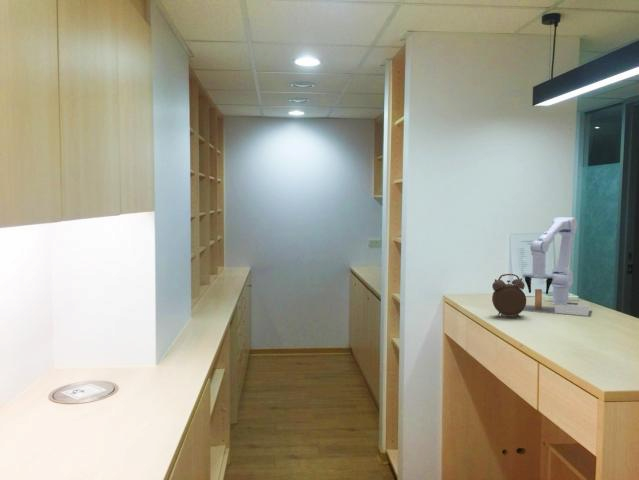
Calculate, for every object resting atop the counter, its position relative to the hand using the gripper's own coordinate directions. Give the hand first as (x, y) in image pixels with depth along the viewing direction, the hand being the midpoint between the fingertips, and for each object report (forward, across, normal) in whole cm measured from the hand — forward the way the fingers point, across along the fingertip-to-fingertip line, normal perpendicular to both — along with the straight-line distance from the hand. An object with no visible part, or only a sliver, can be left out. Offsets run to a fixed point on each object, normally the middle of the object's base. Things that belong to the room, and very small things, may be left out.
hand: (538, 293), depth 255 cm
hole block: (+8, +15, 0) cm, 17 cm away
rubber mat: (+8, +8, 0) cm, 11 cm away
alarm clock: (+8, -10, -21) cm, 25 cm away
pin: (+8, 0, 0) cm, 8 cm away
